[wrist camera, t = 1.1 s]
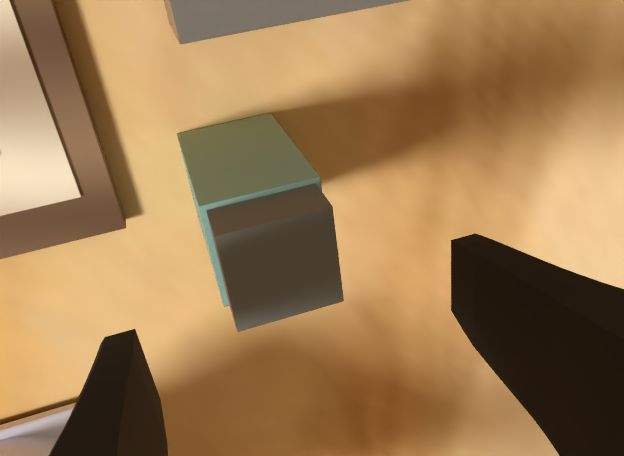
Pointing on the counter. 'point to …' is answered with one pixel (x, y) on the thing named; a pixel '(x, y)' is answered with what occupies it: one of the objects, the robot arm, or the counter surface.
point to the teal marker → (262, 220)
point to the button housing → (250, 14)
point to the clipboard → (47, 139)
